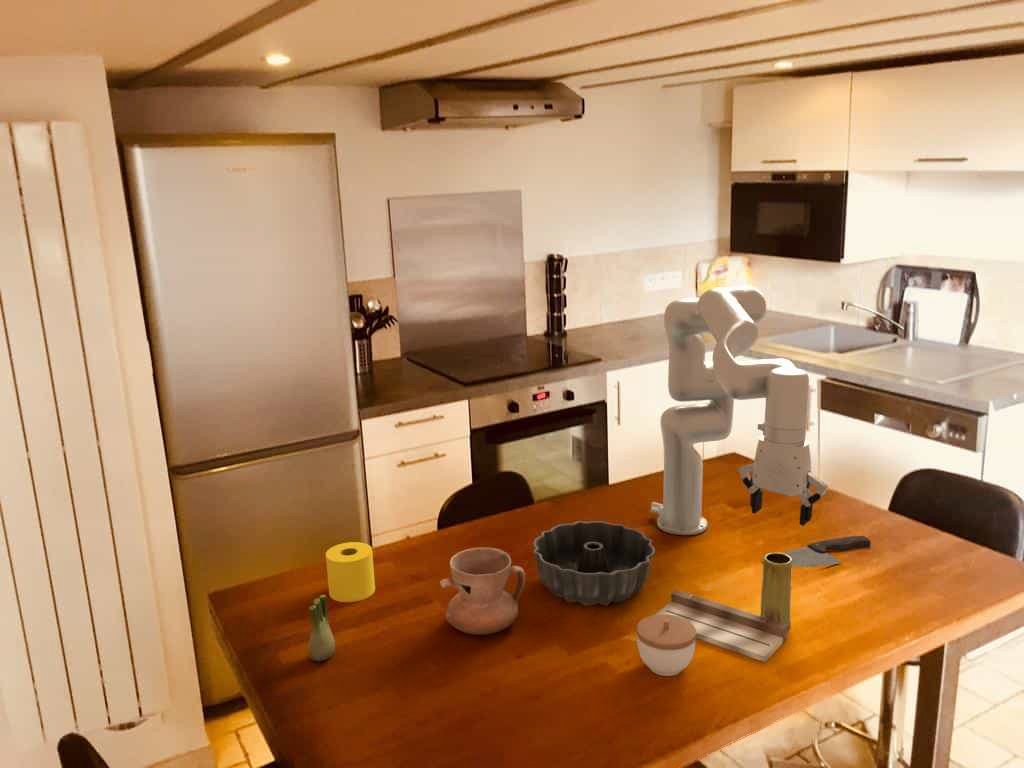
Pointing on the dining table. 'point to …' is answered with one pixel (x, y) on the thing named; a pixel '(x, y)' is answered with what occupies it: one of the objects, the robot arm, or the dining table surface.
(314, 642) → the fennel bulb
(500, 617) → the ceramic jug
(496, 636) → the dining table surface
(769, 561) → the vase
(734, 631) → the fence board
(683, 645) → the lidded jar
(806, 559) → the cleaver
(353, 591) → the toilet paper roll
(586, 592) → the bundt pan
